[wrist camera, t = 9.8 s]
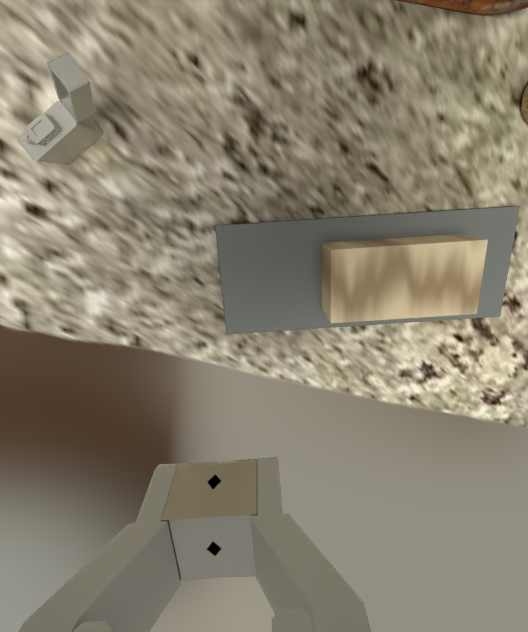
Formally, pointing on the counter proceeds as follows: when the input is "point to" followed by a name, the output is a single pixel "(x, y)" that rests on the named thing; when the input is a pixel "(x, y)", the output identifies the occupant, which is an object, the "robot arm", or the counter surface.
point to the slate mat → (306, 263)
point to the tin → (476, 5)
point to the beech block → (402, 277)
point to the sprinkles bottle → (525, 104)
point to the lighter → (63, 117)
